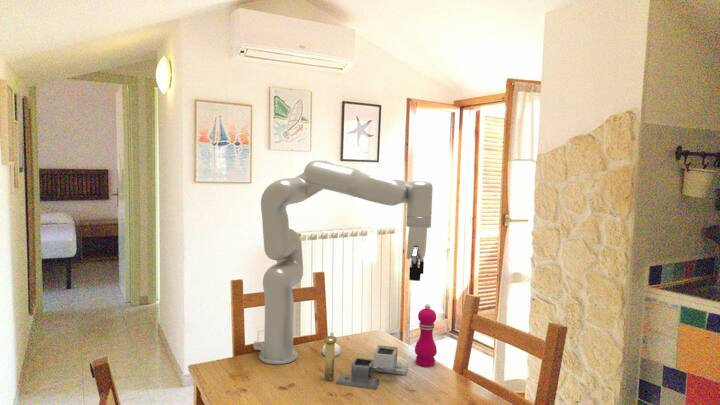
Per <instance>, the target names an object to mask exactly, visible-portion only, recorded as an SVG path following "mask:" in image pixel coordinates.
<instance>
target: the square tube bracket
mask: <svg viewBox="0 0 720 405" xmlns="http://www.w3.org/2000/svg"><path fill="white" fill-rule="evenodd" d="M398 348H399V347H396V346H390V345H389V346H387V345H381V344H378V345H377V347H376V349H375V351H374V352H373V359H372V360H373V367H374V369H373V372H379V373H385V374H394V375H402V376H406V374H407V372H408V369H409V367H408V365H405V364H398V352H399V351H398Z"/></svg>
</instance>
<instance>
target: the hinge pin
mask: <svg viewBox="0 0 720 405" xmlns="http://www.w3.org/2000/svg"><path fill="white" fill-rule="evenodd" d="M336 342H337V337H336V336H335V335H334V336H330V335H326V336H324V337H323V343H324V345H325V356H324V381H326V382H333V381H334V380H335V357H334V354H335V343H336Z"/></svg>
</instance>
